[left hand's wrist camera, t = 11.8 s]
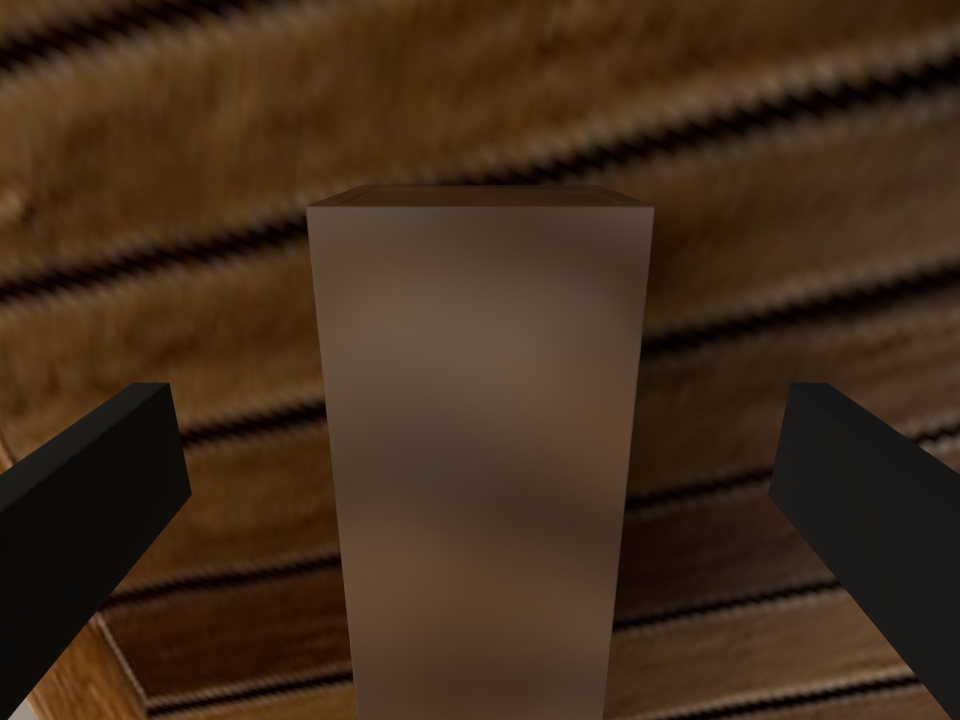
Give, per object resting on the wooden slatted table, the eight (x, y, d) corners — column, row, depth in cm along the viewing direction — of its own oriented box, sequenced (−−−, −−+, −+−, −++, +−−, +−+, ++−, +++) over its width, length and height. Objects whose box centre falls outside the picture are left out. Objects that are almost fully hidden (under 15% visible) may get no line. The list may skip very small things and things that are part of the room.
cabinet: (572, 578, 32) (602, 724, 24) (388, 578, 32) (357, 723, 24) (599, 185, 24) (656, 205, 17) (361, 185, 24) (304, 205, 17)
